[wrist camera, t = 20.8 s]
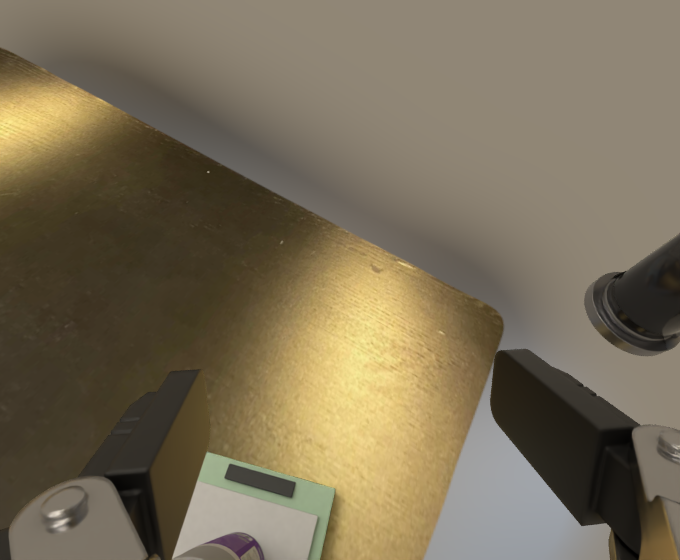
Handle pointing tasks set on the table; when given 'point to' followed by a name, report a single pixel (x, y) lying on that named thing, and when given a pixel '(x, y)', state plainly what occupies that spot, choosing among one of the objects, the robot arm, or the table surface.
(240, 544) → the container
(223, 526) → the scale
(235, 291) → the table surface
